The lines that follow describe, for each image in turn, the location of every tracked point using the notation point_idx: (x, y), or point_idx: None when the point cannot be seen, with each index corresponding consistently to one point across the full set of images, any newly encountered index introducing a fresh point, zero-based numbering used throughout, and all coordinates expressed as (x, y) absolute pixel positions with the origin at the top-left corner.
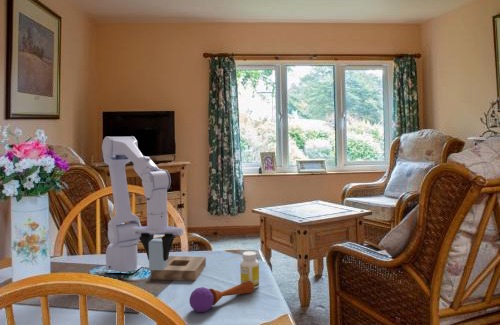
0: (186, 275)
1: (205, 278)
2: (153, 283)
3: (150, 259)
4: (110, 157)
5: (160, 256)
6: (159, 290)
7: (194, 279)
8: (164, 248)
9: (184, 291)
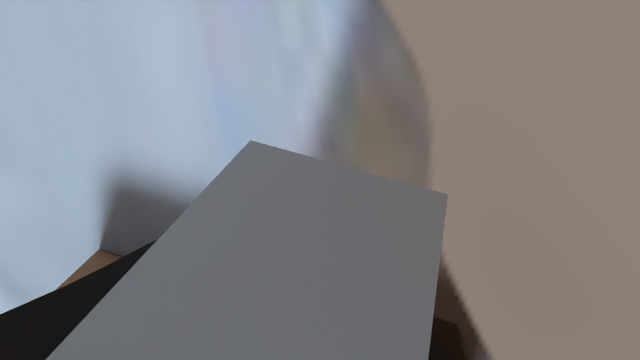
0: None
1: (39, 275)
2: (439, 268)
3: (408, 276)
4: None
5: (196, 253)
6: (363, 92)
7: (100, 256)
8: (18, 351)
9: (131, 31)
